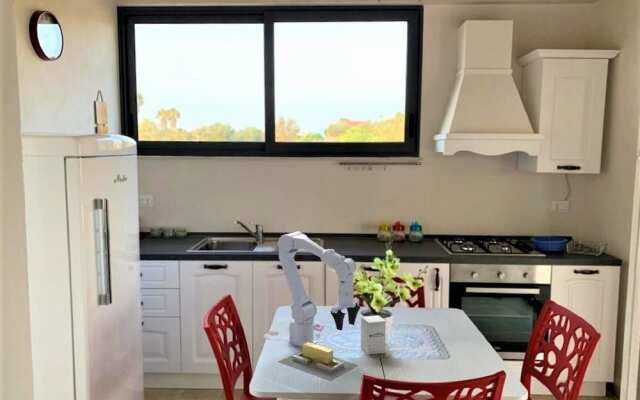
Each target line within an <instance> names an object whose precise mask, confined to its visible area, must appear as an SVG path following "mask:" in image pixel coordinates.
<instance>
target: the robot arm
mask: <svg viewBox="0 0 640 400" xmlns="http://www.w3.org/2000/svg"><path fill="white" fill-rule="evenodd" d="M277 246H278V259H279V261H280V264H281V267H282V270H283V274H284V276H285V279H286V282H287V286H288V288H289V292H290V294H291V295H290V296H291V297H292V302H291V304H290V309H291V318H292V320H291V321H290V323H289V325H288V327H289V328H288V329H289V330H288V331H289V334H288V335H289V340H287V343H290V344H293V345H294V346H295V345H296V346H299V347H302V348H303V344H304V343H306V342H309V343H312V344H315V345H316V344H317V343H319V341H318V340H316V339H315V338H314V335H315V333H314V324H315V323H314V321H315V320H314V319H315V316H316V315H317V313H318V309H317V306H316V304H315V303H314V302H313V300H312V297H310V296H309V295H308V294H307V293H306V290H305V288H304V287H305V286H304V285H303V281H302V279H301V275H300V272H299V269H298V267H297V263H296V261H295V256H296V253H297V252H298V250H301V249H304V250H305V251H307V252H309V253H311V254H313V255H315V256H317V257H319V258H320V260H321V263H323V264H324V265H326V266H328V267H329V268H331V269H333V270H334V271H335V274H336V275H337V284H338V285H337V303H335V305H333V306H331V310H330V314H331V316H332V318H333V320H334V324H335V327H336V330H338V331H342V330H343V327H344V326H343V325H344V320H345V316H346V314H347V318H348V324H349V325H352V326H355V324H356V319H357V316H358V313H359V311H360V310H361V305H360V298H356V297H355V298H354V286H355V285H354V284H355V283H354V282H355V281H354V278H355V276H354V273H355V272H356V271H357V263H356V262H355V260H354V259H353V258H352V257H351V258H350V257H347V258H346V257H345V255H341V254H339V253H337V252H336V251H335V249H333V248H331V249H330V248H327V249H325V248H323V247H321V246H320V245H319V244H318V243H316V242H315V241H313V240H311V239H310V238H309V237H308V236H307V235H306V234H304V233H302V232H300V231H294V232H291V233H287V234H283V235H281V236H280V237H279V239H278V241H277ZM343 310H346V311H347V313H346V312H343Z"/></svg>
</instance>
